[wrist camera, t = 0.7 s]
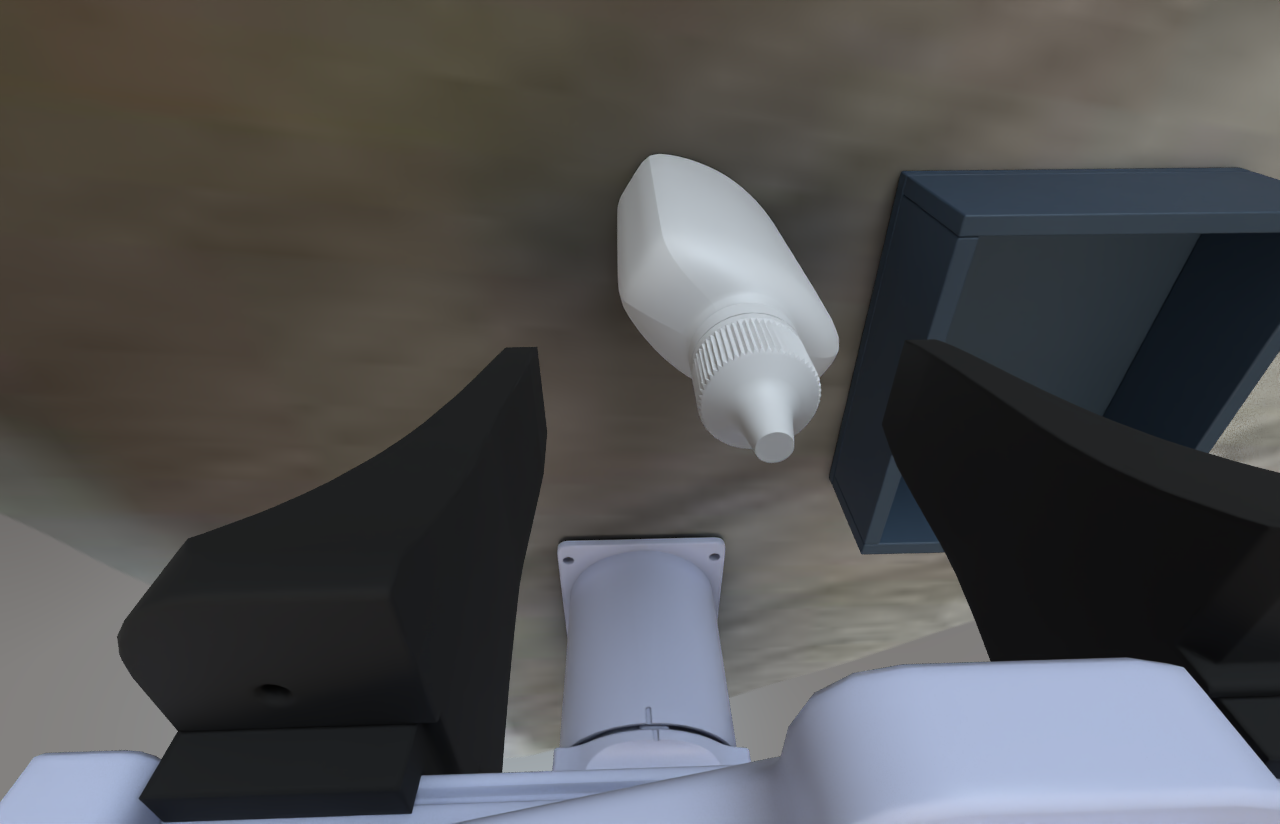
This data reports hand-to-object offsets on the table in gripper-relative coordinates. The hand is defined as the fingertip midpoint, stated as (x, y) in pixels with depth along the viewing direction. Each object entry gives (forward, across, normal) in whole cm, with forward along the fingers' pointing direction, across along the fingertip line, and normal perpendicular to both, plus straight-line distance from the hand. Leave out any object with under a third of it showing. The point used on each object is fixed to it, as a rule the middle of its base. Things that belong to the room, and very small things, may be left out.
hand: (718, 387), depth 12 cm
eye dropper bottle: (+10, -1, 0) cm, 10 cm away
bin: (+10, -13, +5) cm, 17 cm away
